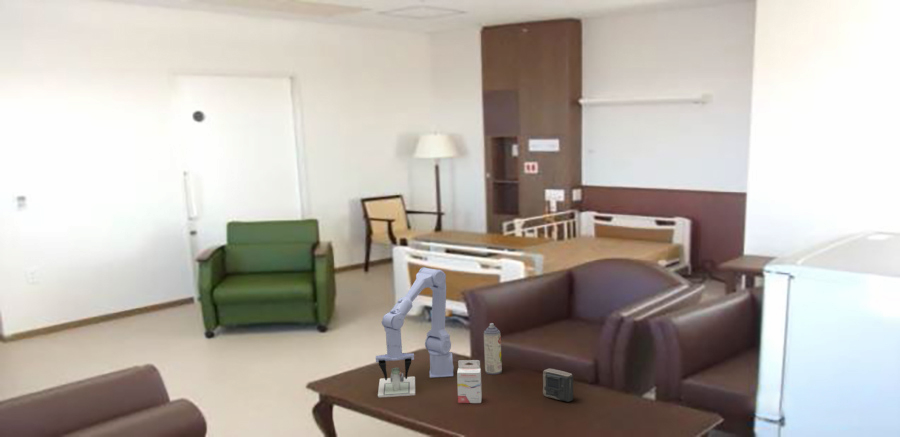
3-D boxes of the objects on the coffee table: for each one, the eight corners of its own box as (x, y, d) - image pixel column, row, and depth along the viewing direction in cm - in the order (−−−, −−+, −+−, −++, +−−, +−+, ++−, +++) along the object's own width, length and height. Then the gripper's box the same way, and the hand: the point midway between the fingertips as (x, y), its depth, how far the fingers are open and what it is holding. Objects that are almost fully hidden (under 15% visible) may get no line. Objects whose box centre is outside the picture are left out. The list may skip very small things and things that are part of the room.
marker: (400, 387, 275) (399, 367, 274) (400, 390, 272) (399, 370, 271) (392, 388, 275) (391, 367, 274) (392, 391, 272) (391, 370, 271)
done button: (400, 375, 285) (400, 370, 285) (400, 378, 282) (400, 373, 282) (393, 376, 285) (393, 371, 285) (393, 378, 282) (392, 373, 282)
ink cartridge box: (457, 403, 259) (455, 364, 257) (459, 398, 264) (457, 359, 262) (481, 403, 258) (479, 364, 256) (482, 398, 263) (480, 359, 261)
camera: (576, 399, 258) (575, 372, 256) (567, 404, 254) (566, 377, 252) (550, 392, 266) (549, 366, 264) (540, 397, 261) (540, 370, 260)
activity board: (414, 378, 287) (414, 372, 286) (415, 395, 269) (414, 388, 269) (379, 380, 286) (379, 374, 286) (377, 397, 268) (377, 390, 268)
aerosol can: (503, 373, 287) (501, 325, 284) (486, 375, 287) (484, 326, 284) (500, 368, 294) (498, 320, 291) (484, 369, 293) (482, 322, 291)
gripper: (374, 348, 267) (376, 383, 269) (413, 346, 267) (415, 380, 269) (375, 342, 274) (377, 376, 276) (413, 340, 274) (415, 374, 276)
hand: (396, 378), depth 273 cm, fingers open, 7 cm apart
